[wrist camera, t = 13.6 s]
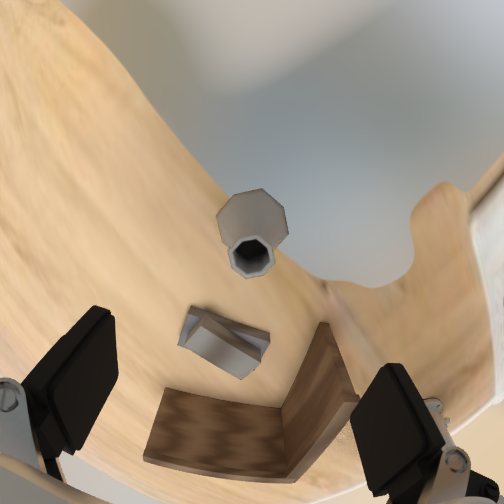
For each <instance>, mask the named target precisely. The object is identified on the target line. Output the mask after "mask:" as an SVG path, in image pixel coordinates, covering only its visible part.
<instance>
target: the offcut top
mask: <svg viewBox="0 0 504 504" xmlns="http://www.w3.org/2000/svg"><path fill="white" fill-rule="evenodd" d="M184 346H185V347H186V348H188V349H189V350H191V351H192V352H194V353H196V354H197V355H199V356H201V357H202V358H204V359H206V360H207V361H209V362H211V363H212V364H214V365H216V366H217V367H219V368H221V369H223V370H224V371H226V372H228V373H230V374H231V375H233V376H235V377H237V378H239V379H240V380H242V379H243V378H244V377H246V376H247V375H248V374H249V373H250V372H251V371H253V370H254V369H255V368H256V367H257V366H258V365H259V364H260V363H261V350H260V349H258V348H257V347H255V346H253V345H252V344H250V343H249V342H247V341H245V340H244V339H242V338H241V337H239V336H237V335H236V334H234V333H233V332H231V331H230V330H228V329H226V328H225V327H223V326H222V325H220V324H219V323H217V322H216V321H214V320H213V319H211V318H210V317H208V316H207V315H205V314H204V315H203V316H202V317H201V319H200V320H199V321H198V322H197V323H196V325H195V326H194V327H193V328H192V329H191V330H190V332H189V333H188V334H187V337H186V340H185V343H184Z"/></svg>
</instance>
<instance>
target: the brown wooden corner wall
mask: <svg viewBox="0 0 504 504" xmlns="http://www.w3.org/2000/svg"><path fill="white" fill-rule="evenodd" d="M359 401H360V397H359V394H355V391H354V388H353V385H352V383H351V380H350V377H349V375H348V372H347V369H346V367H345V364H344V361H343V359H342V356H341V354H340V351H339V348H338V346H337V343H336V341H335V338H334V336H333V333H332V331H331V328H330V326H329V324H327V323H319V326H318V328H317V331H316V333H315V335H314V338H313V340H312V343H311V345H310V347H309V350H308V352H307V354H306V357H305V359H304V361H303V363H302V366H301V368H300V370H299V372H298V374H297V377H296V379H295V381H294V383H293V385H292V387H291V389H290V392H289V394H288V396H287V398H286V400H285V402H284V404H283V406H282V408H281V409H280V408H271V407H263V406H255V405H248V404H242V403H235V402H229V401H224V400H218V399H213V398H208V397H203V396H199V395H194V394H190V393H186V392H181V391H177V390H173V389H169V388H165V390H164V393H163V396H162V399H161V402H160V405H159V408H158V411H157V414H156V417H155V420H154V423H153V426H152V429H151V432H150V436H149V439H148V442H147V445H146V448H145V450H144V453H143V460H144V461H145V462H148V463H151V464H155V465H159V466H162V467H166V468H170V469H174V470H179V471H183V472H188V473H193V474H198V475H203V476H209V477H215V478H222V479H230V480H238V481H248V482H261V483H286V484H292V483H295V482H296V481H297V480H298V479H299V478H300V477H301V476H302V475H303V474H304V473H305V472H306V471H307V470H308V469H309V468H310V466H311V465H312V464H313V463H314V462H315V461H316V460H317V459H318V458H319V456H320V455H321V454H322V453H323V452H324V451H325V449H326V448H327V447H328V446H329V445H330V443H331V442H332V441H333V440H334V438H335V437H336V436H337V435H338V433H339V432H340V431H341V430H342V428H343V427H344V426H345V424H346V423H347V422H348V420H349V419H350V415H351V413H352V411H353V410H354V408H355V407H356V406H357V404H358V403H359Z"/></svg>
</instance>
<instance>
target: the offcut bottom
mask: <svg viewBox="0 0 504 504" xmlns="http://www.w3.org/2000/svg"><path fill="white" fill-rule="evenodd" d="M204 314H205V315H207V316H208V317H210V318H211V319H213V320H214V321H216V322H217V323H219V324H220V325H222V326H223V327H225V328H226V329H228V330H230V331H231V332H233V333H234V334H236V335H237V336H239V337H241V338H242V339H244V340H245V341H247V342H249V343H250V344H252V345H253V346H255V347H257V348H258V349H260V350H261V358H262V356H263V354H264V352H265V351H266V349H267V347H268V345H269V344H270V333H267V332H264V331H261V330H258V329H255V328H252V327H249V326H246V325H243V324H240V323H237V322H234V321H231V320H229V319H226V318H223V317H220V316H217V315H215V314H212V313H209V312H207V311H204V310H201V309H199V308H196V307H193V306H191V307H190V310H189V312H188V315H187V318H186V321H185V324H184V326H183V329H182V332H181V335H180V338H179V341H178V344H177V345H179V346H181V347H184V348H186V347H185V346H184V343H185V340H186V337H187V334H188V333H189V332H190V330H191V329H192V328H193V327H194V326H195V325H196V323H197V322H198V321H199V320H200V319H201V317H202V316H203V315H204ZM186 349H188V348H186ZM254 370H255V369H254ZM254 370H253V371H254Z"/></svg>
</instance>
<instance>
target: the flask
mask: <svg viewBox="0 0 504 504" xmlns="http://www.w3.org/2000/svg"><path fill="white" fill-rule="evenodd" d="M216 218H217V222H218V226H219V230H220V234H221V238H222V241H223V243H224V244H226V245H227V246H228V247H229V249H228V251H227V252H228V255H229V259H230V263H231V267H232V269H233V270H235V271H236V272H237V273H239V274H240V275H241V276H242V277H244V278H245V279H249V278H254V277H259V276H263V275H264V274H265V273H266V272H267V271H268V270H269V269H270V268H271V267H272V266H273V265H274V264H275V259H274V254H273V250H274V249H275V248H276V247H277V246H278V245H279V244H280V243H281V242H282V241H283V240H284V238H285V237H286V236H287V235H288V234H289V232H288V227H287V222H286V217H285V212H284V207H283V206H282V205H281V204H280V203H278V202H277V201H276V200H275V199H274V198H272V197H271V196H270V195H269V194H268V193H267V192H266V191H265V190H263V189H257V190H252V191H248V192H243V193H239V194H234V195H233V196H232V197H231V199H230V200H229V201H228V202H227V203H226V205H225V206H224V207H223V208H222V209H221V210H220V212H219V213H218V214H217V215H216Z"/></svg>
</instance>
